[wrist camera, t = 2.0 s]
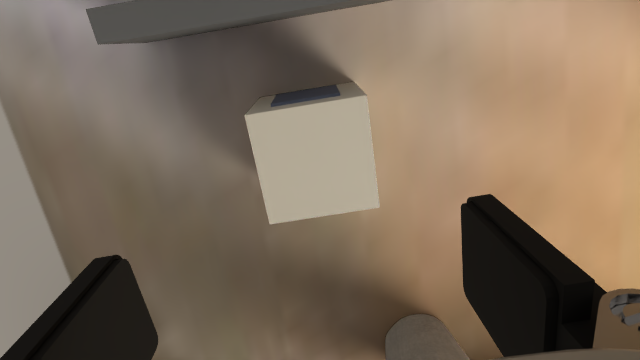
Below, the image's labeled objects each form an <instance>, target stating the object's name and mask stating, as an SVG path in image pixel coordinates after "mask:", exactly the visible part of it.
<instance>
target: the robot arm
mask: <svg viewBox="0 0 640 360" xmlns="http://www.w3.org/2000/svg"><path fill="white" fill-rule="evenodd" d="M461 229H462V261H463V287H464V292H465V295H466V297H467V299H468V301H469V302H470V304H471V306H472V307H473V309H474V310H475V312H476V313H477V315H478V317H479V318H480V320H481V321H482V323H483V325H484V326H485V328H486V329H487V331H488V332H489V334H490V336H491V337H492V339H493V340H494V342H495V344H496V345H497V347H498V348H499V350H500V352H501V353H502V355H503V356H504V357H501V358H494V359H488V360H640V290H639V289H617V290H613V291H609V292H608V293H607V292H606V291H605V290H603V289H602V288H601V287H600V286H599V285H597V284H596V283H595V280H594V279H593V278H591V277H590V276H589V275H588V274H587V273H585V272H584V271H583V270H582V269H581V268H579V267H578V266H577V265H576V264H574V263H573V262H572V261H571V260H570V259H568V258H567V257H566V256H565V255H564V254H562V253H561V252H560V251H559V250H558V249H556V248H555V247H554V246H553V245H552V244H550V243H549V242H548V241H547V240H546V239H544V238H543V237H542V236H541V235H540V234H538V233H537V232H536V231H535V230H534V229H532V228H531V227H530V226H529V225H528V224H526V223H525V222H524V221H523V220H521V219H520V218H519V217H518V216H517V215H515V214H514V213H513V212H512V211H511V210H509V209H508V208H507V207H506V206H505V205H503V204H502V203H501V202H500V201H499V200H497V199H496V198H495V197H494V196H493V195H491V194H487V195H481V196H475V197H469V198H468V199H467V203H464V204H462V205H461ZM157 345H158V335H157V332H156V329H155V327H154V324H153V322H152V319H151V317H150V314H149V312H148V309H147V307H146V304H145V302H144V299H143V296H142V294H141V291H140V289H139V286H138V284H137V281H136V279H135V276H134V274H133V271H132V269H131V266H130V264H129V262H128V261H127V260H126V259H122V258H121V257H120V256H119V255H113V256H107V257H101V258H95V259H94V260H93V261H92V262H91V263H90V264H89V265H88V266H87V267H86V268H85V269H84V270H83V271H82V272H81V273H80V274H79V276H78V277H77V278H76V279H75V280H74V281H73V282H72V283H71V284H70V285H69V286H68V287H67V288H66V289H65V291H63V292H62V294H61V295H60V296H59V297H58V298H57V299H56V300H55V301H54V302H53V303H52V304H51V305H50V306H49V307H48V308H47V309H46V311H45V312H44V313H43V314H42V315H41V316H40V317H39V318H38V319H37V320H36V321H35V322H34V323H33V324H32V325H31V326H30V327H29V329H28V330H27V331H26V332H25V333H24V334H23V335H22V336H21V337H20V338H19V339H18V340H17V341H16V342H15V343H14V344H13V346H12V347H11V348H10V349H9V350H8V351H7V352H6V353H5V354H4V355H3V356H2V357H1V358H0V360H151V359H152V357H153V355H154V353H155V351H156V348H157Z"/></svg>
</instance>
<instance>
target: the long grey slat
mask: <svg viewBox="0 0 640 360" xmlns="http://www.w3.org/2000/svg"><path fill="white" fill-rule="evenodd" d="M384 1H390V0H135V1H130V2H124V3H118V4H113V5H107V6H101V7H96V8H90V9H86V12H87V15H88V17H89V20H90V23H91V26H92V29H93V32H94V35H95V38H96V41H97V43H98V44H123V43H147V42H153V41H159V40H165V39H170V38H176V37H182V36H188V35H193V34H199V33H205V32H211V31H217V30H222V29H228V28H234V27H240V26H246V25H251V24H257V23H263V22H269V21H274V20H280V19H286V18H292V17H298V16H303V15H309V14H315V13H321V12H327V11H332V10H338V9H344V8H350V7H355V6H361V5H367V4H373V3H379V2H384Z"/></svg>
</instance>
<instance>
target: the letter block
mask: <svg viewBox="0 0 640 360" xmlns="http://www.w3.org/2000/svg"><path fill="white" fill-rule="evenodd" d="M244 116H245V120H246V124H247V129H248V133H249V137H250V142H251V146H252V150H253V155H254V159H255V163H256V168H257V172H258V176H259V181H260V185H261V189H262V194H263V198H264V202H265V206H266V211H267V215H268V219H269V224H276V223H282V222H289V221H295V220H302V219H308V218H315V217H321V216H328V215H334V214H341V213H347V212H354V211H360V210H366V209H373V208H379V207H380V205H379V196H378V187H377V179H376V170H375V161H374V153H373V144H372V135H371V127H370V118H369V109H368V101H367V95H366V94H365V93H364V92H363V91H362V90H361V89H360V88H359V86H358V85H357V84H356V83H355V82H350V83H344V84H338V85H330V86H324V87H318V88H312V89H306V90H300V91H294V92H288V93H282V94H277V95H272V96H266V97H260V98H259V99H258V100H257V101H256V103H255V104H254V105H253V106H252V107H251V108H250V109H249V111H248V112H247V113H246V114H245V115H244Z"/></svg>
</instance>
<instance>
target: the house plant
mask: <svg viewBox="0 0 640 360" xmlns="http://www.w3.org/2000/svg"><path fill="white" fill-rule="evenodd" d="M385 352H386V360H470V359H469V358H468V356H467V355H466V353H465V352H464V351H463V349H462V348H461V347H460V345H459V344H458V343H457V341H456V340H455V338H454V337H453V336H452V334H451V333H450V332H449V330H448V329H447V328H446V326H445V325H444V324H443V323H442V322H441V321H440V320H439V319H437V318H435V317H433V316H430V315H426V314H415V315H409V316H407V317H404V318H402V319H400V320H399V321H398V322H397V323H395V324H394V325H393V327H392V328H391V329H390V330H389V332H388V333H387V335H386V339H385Z"/></svg>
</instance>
